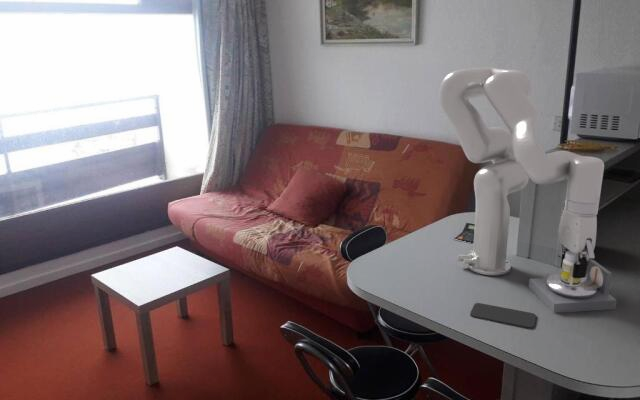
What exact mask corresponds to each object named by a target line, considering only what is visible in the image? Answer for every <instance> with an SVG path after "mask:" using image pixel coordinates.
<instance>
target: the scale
mask: <svg viewBox="0 0 640 400" xmlns="http://www.w3.org/2000/svg"><path fill="white" fill-rule="evenodd" d="M612 274H613V273H612V272H611V271H609V270H608V269H606V268H605V267H604V266H603V265H601V264H600V263H598V262H597V261H596V260H595V259H593V260H591V261H590V262H589V264H588V271H587V275H586V276H585V278H588V279H590V280H591V281H593V282H594V283H595V284H596V285H597V293H596V294H595V295H594V296H591V297H587V298H575V297H568V296H564V295H561V294H558V293H556V292H554V291H552V290H551V289H549V288H548V286H547V278H548V277H544V278H543V277H541V278H540V277H539V278H529V279H528V288H529V289H530V291H532V293H534V294H535V295H536V297H537V298H539V299H540V300H541V302H542V303H543V304H545V306H546V307H547V308H548V309H549V310H550V311H551V312H552V313H553V314H556V313H569V312H570V313H572V312H587V311H602V310H603V311H604V310H605V311H606V310H615V309H616V306H617V299H616V298H615V297H613V296H612V295H611V294H610V288H611V281H612Z"/></svg>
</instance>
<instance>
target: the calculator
mask: <svg viewBox="0 0 640 400" xmlns="http://www.w3.org/2000/svg"><path fill="white" fill-rule="evenodd" d="M474 229H475V223H472V222H471V223H470V222H466V223H465V225H464V228H463V230H462V232H460V233H459V234H458V235H457V236H456V237H454V240H455V239H458V240H462V241H466V242H465V243H467V242H471V243H470V244H472V243H474ZM462 241H461V242H462Z"/></svg>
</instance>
